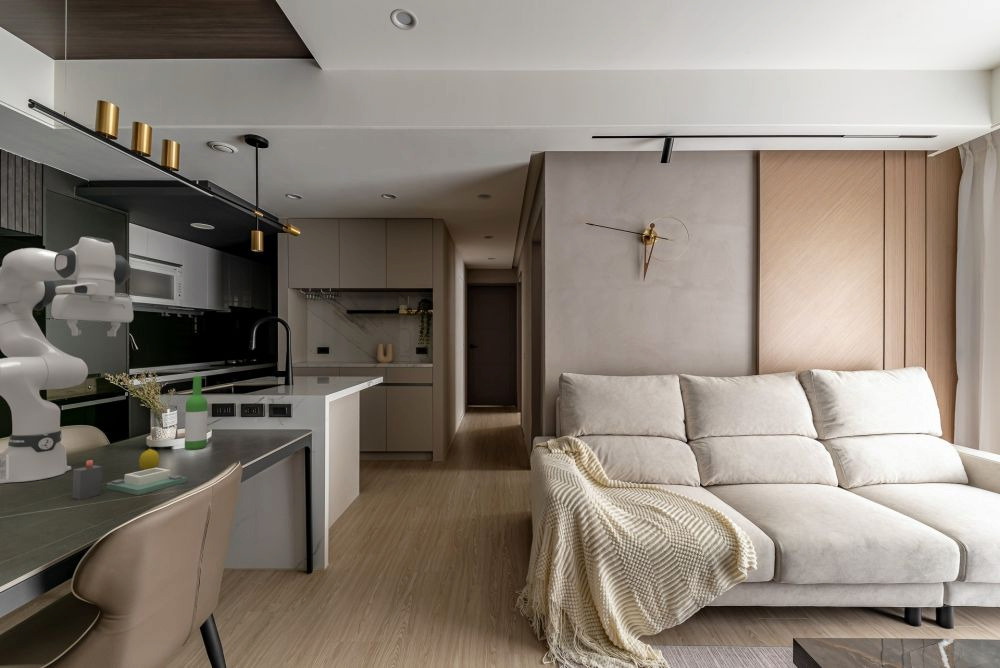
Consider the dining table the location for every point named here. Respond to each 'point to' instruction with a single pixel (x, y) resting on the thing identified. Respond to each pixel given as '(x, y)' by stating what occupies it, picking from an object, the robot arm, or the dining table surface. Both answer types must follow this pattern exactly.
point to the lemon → (149, 459)
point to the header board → (146, 481)
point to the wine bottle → (196, 418)
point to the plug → (87, 481)
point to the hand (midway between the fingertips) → (94, 336)
